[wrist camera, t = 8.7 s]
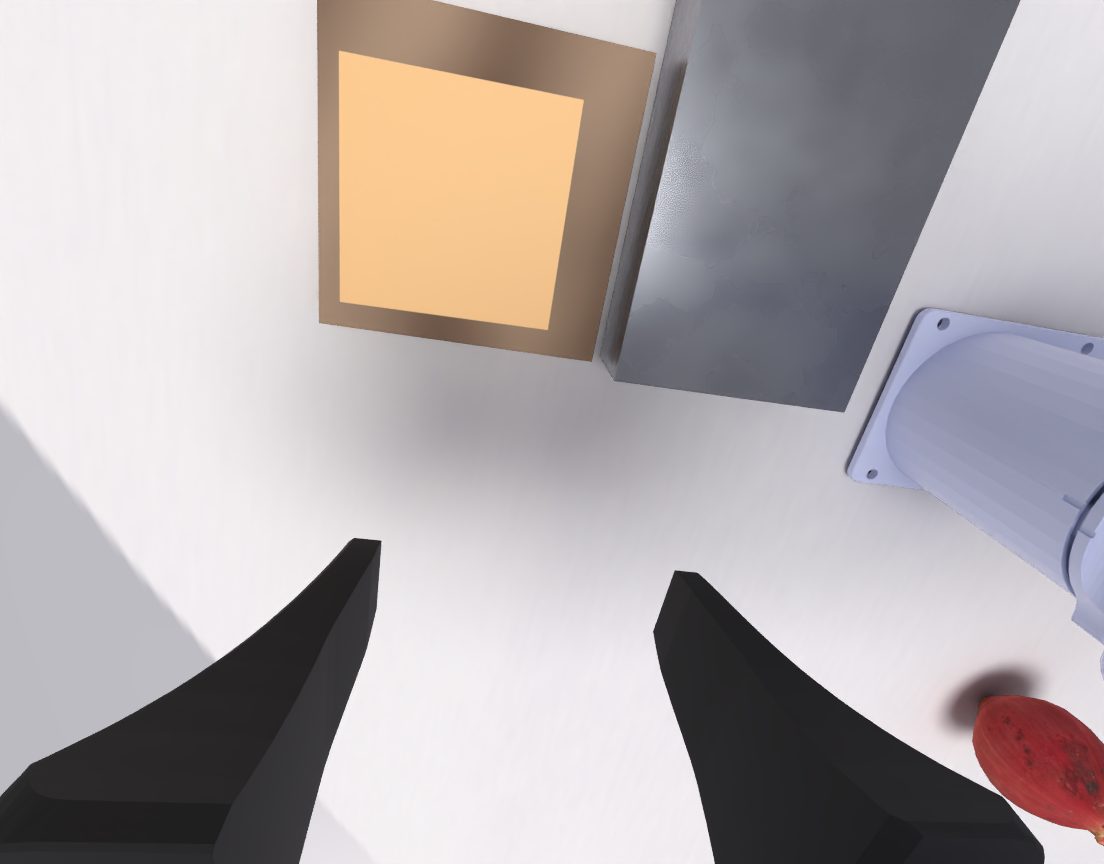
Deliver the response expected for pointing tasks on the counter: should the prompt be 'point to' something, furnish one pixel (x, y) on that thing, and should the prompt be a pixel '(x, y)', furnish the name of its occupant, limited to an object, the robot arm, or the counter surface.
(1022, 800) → the onion
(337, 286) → the board
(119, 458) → the counter surface
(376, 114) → the peg
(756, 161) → the grey slotted block
